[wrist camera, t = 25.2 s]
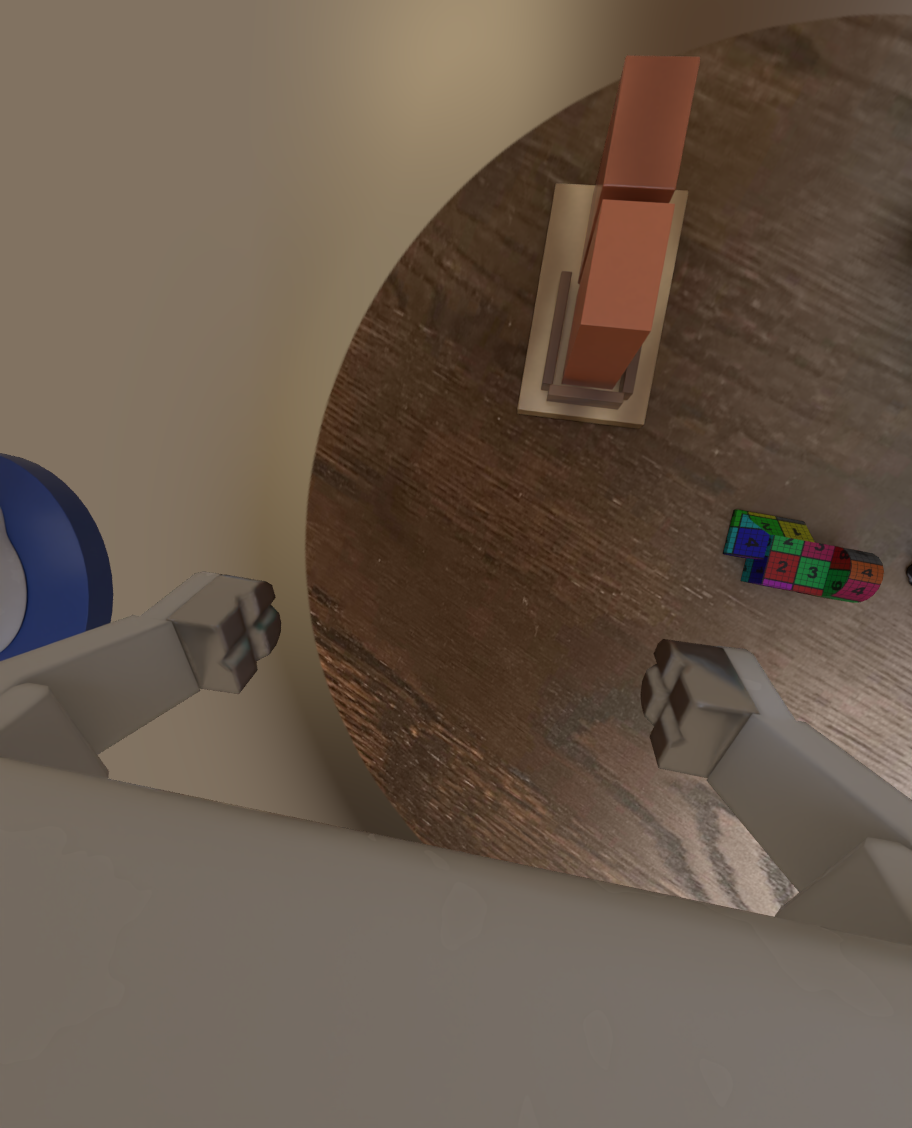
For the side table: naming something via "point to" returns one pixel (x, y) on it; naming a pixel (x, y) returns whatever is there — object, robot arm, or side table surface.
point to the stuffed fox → (910, 574)
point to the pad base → (548, 280)
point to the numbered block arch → (800, 559)
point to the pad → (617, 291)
